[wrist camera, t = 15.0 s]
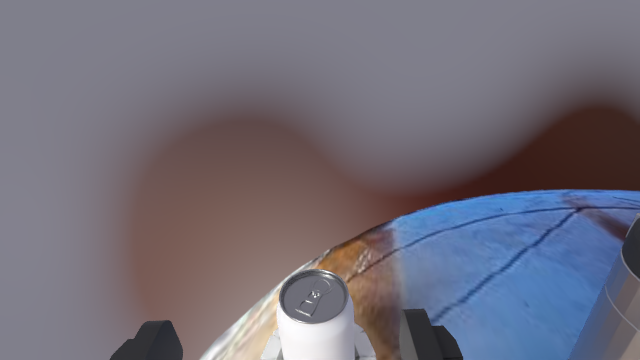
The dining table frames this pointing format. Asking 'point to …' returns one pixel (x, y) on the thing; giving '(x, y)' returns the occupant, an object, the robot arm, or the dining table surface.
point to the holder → (362, 346)
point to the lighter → (634, 222)
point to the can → (316, 317)
